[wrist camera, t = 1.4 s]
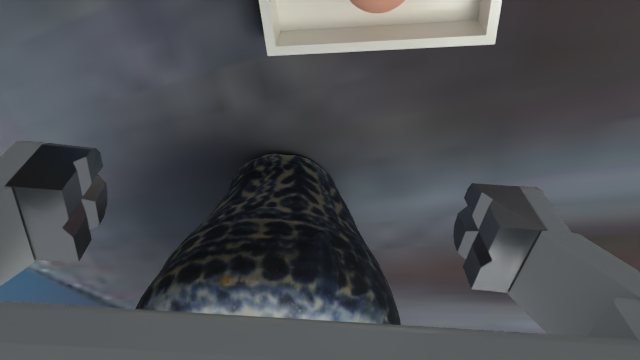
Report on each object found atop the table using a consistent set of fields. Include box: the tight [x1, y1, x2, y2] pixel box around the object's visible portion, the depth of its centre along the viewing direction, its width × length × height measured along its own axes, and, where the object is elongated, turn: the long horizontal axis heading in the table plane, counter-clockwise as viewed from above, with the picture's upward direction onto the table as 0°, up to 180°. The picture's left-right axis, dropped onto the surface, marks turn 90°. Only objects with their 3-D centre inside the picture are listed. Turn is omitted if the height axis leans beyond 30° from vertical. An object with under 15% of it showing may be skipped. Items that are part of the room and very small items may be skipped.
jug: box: [136, 154, 401, 325], centre depth 36 cm, size 21×19×30 cm
